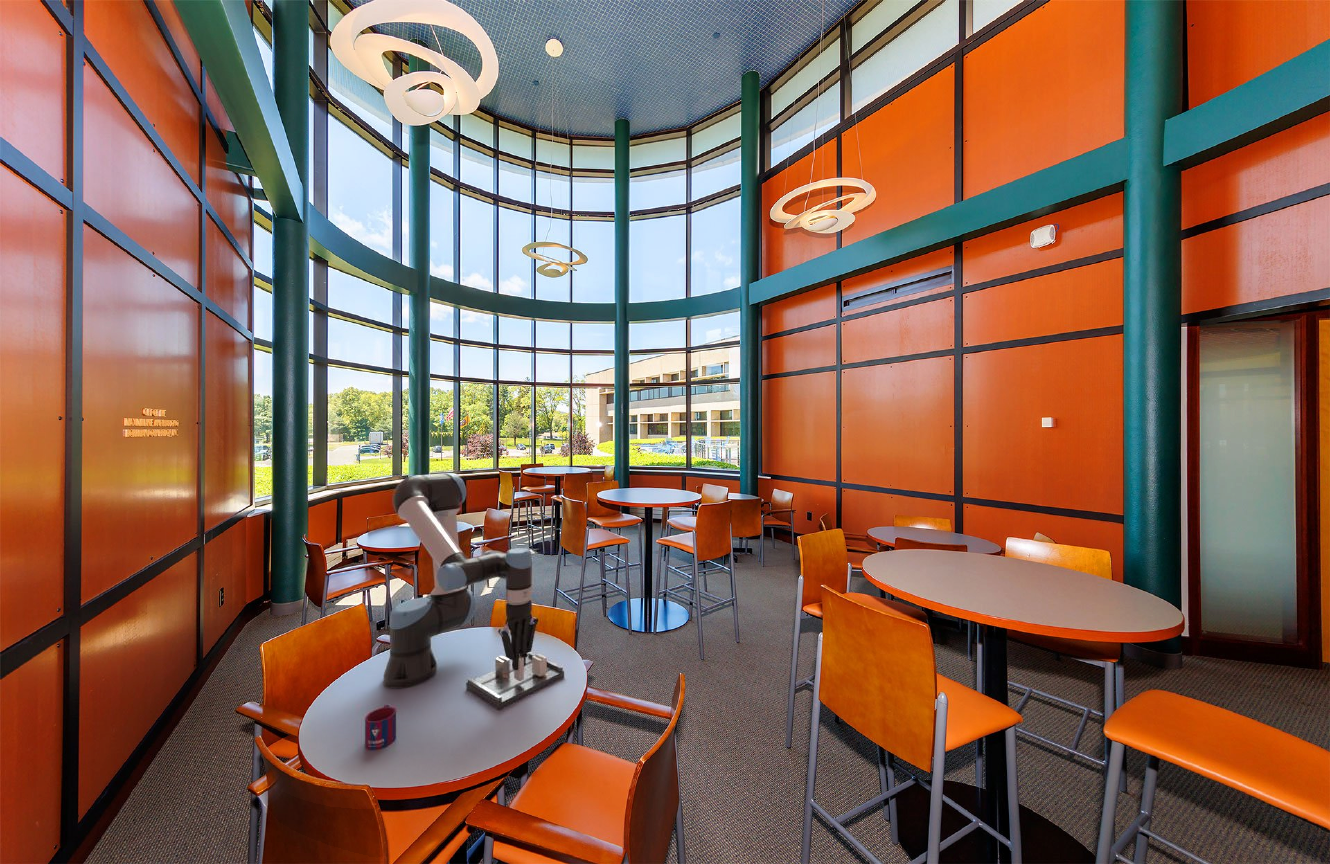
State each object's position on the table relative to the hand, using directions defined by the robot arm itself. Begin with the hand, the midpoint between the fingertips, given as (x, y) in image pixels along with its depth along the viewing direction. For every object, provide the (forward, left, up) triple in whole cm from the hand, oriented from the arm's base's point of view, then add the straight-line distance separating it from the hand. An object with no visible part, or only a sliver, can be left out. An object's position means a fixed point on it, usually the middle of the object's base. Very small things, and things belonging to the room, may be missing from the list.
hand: (519, 678), depth 141 cm
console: (-4, +2, -4) cm, 6 cm away
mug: (-8, -34, -4) cm, 36 cm away
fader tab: (0, +7, -1) cm, 7 cm away
